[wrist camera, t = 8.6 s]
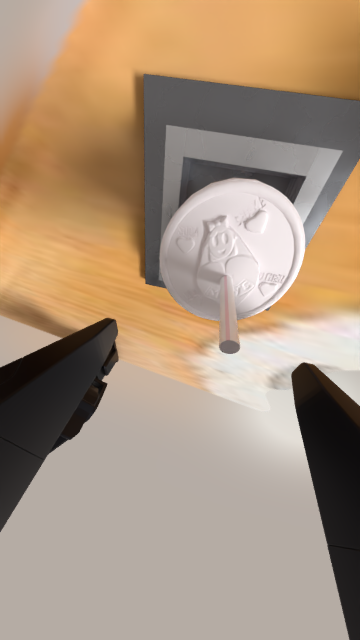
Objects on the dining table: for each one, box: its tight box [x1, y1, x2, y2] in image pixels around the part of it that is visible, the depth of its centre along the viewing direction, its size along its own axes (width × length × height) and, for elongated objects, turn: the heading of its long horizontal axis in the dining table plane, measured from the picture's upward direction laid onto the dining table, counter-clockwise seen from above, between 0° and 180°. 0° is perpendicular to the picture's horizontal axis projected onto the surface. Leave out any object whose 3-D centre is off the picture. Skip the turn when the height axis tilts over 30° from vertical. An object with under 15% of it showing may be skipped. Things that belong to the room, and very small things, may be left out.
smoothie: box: [159, 178, 305, 354], centre depth 10 cm, size 6×6×14 cm
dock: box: [144, 74, 360, 310], centre depth 14 cm, size 15×15×4 cm
